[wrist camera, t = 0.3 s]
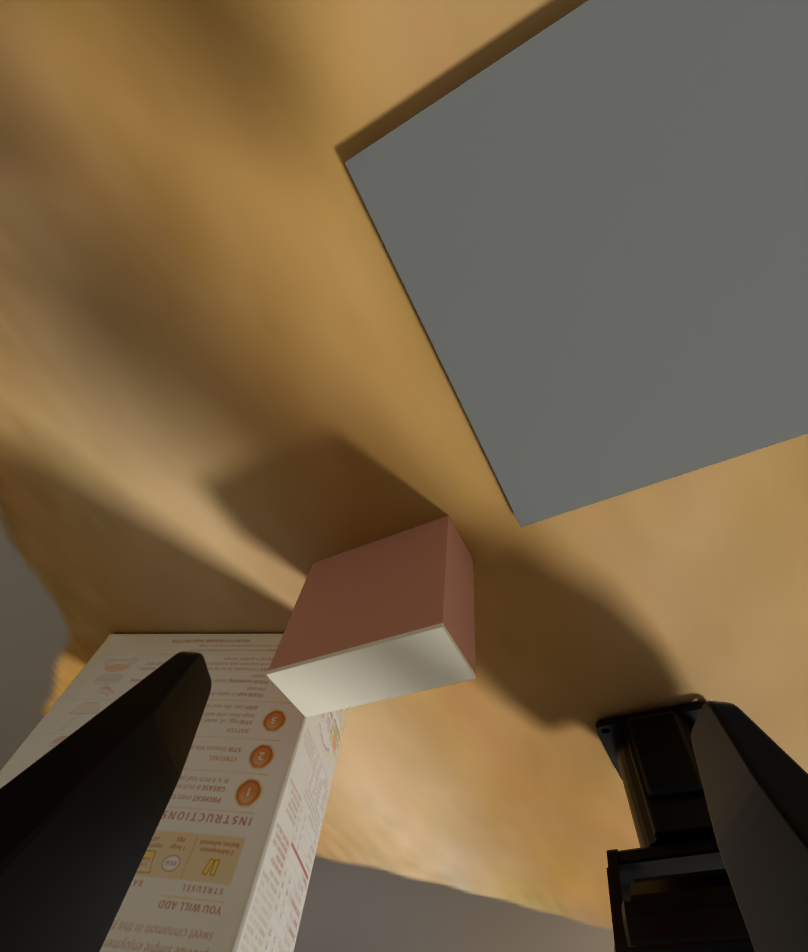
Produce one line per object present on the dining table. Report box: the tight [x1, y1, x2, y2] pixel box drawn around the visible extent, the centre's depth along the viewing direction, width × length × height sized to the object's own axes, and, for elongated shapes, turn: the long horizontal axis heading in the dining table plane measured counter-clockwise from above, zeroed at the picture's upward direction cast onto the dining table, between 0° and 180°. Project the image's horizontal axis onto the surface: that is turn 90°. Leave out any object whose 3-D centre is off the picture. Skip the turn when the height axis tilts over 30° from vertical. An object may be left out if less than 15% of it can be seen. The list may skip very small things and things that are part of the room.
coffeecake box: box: [0, 634, 348, 952], centre depth 23 cm, size 15×7×20 cm, turn 97°
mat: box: [345, 0, 808, 527], centre depth 16 cm, size 16×20×1 cm
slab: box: [266, 515, 476, 717], centre depth 22 cm, size 3×8×7 cm, turn 118°
